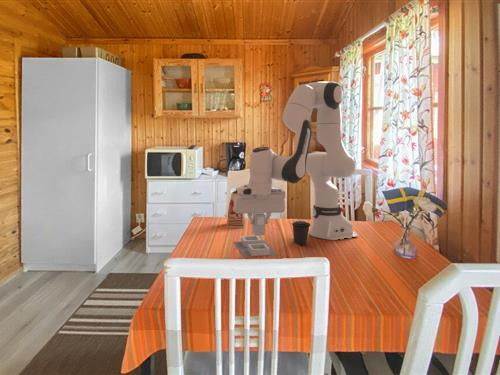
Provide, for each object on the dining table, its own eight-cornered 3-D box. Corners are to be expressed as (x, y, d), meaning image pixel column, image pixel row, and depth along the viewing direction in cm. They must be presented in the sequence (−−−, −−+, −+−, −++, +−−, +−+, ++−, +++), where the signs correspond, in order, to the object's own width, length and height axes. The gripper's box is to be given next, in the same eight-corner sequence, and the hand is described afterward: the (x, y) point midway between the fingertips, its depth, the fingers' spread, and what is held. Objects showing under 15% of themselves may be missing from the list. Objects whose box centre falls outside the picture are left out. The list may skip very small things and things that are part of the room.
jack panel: (264, 242, 177) (264, 234, 176) (278, 257, 158) (278, 248, 157) (232, 244, 173) (233, 236, 173) (243, 259, 154) (243, 250, 154)
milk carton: (244, 228, 200) (245, 188, 197) (226, 227, 201) (226, 188, 197) (245, 223, 209) (246, 185, 206) (227, 223, 210) (228, 185, 206)
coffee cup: (290, 241, 180) (291, 219, 178) (308, 241, 180) (309, 220, 178) (291, 246, 172) (292, 224, 170) (310, 247, 172) (311, 224, 170)
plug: (261, 232, 161) (262, 212, 159) (265, 235, 156) (266, 215, 155) (252, 232, 160) (252, 213, 158) (255, 236, 155) (256, 215, 154)
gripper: (282, 187, 161) (281, 221, 163) (233, 187, 156) (232, 222, 158) (288, 190, 155) (286, 225, 157) (236, 190, 150) (235, 226, 152)
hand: (258, 223), depth 158 cm, fingers closed on plug, 4 cm apart
